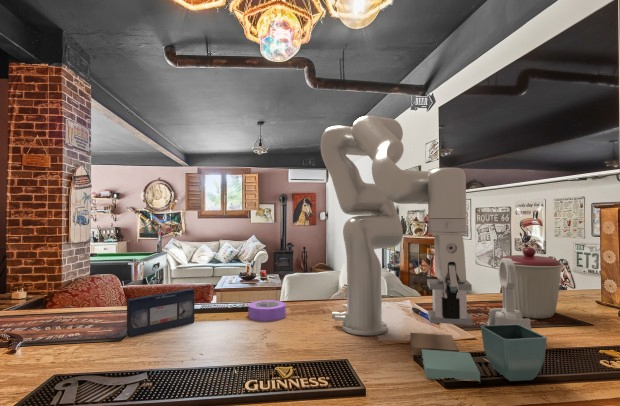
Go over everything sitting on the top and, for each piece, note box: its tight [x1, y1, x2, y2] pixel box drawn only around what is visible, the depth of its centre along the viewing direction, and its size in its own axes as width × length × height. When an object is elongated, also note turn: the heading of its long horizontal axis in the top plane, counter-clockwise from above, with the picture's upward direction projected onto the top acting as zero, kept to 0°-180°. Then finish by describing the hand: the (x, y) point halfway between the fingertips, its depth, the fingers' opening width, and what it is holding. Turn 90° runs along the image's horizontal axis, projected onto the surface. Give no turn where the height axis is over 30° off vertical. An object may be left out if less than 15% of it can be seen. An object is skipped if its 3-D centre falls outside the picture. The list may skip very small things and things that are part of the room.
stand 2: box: [421, 349, 481, 383], centre depth 77 cm, size 10×10×2 cm
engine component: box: [487, 257, 533, 331], centre depth 96 cm, size 11×20×10 cm
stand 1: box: [409, 332, 460, 357], centre depth 89 cm, size 10×10×2 cm
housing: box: [426, 278, 473, 326], centre depth 77 cm, size 8×5×8 cm, turn 78°
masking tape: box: [247, 299, 287, 322], centre depth 117 cm, size 12×12×4 cm
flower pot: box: [480, 324, 548, 382], centre depth 75 cm, size 9×9×9 cm
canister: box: [496, 246, 565, 320], centre depth 117 cm, size 18×18×21 cm
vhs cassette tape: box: [126, 288, 196, 338], centre depth 105 cm, size 18×3×10 cm, turn 131°
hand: (448, 313), depth 77 cm, fingers closed on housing, 5 cm apart
